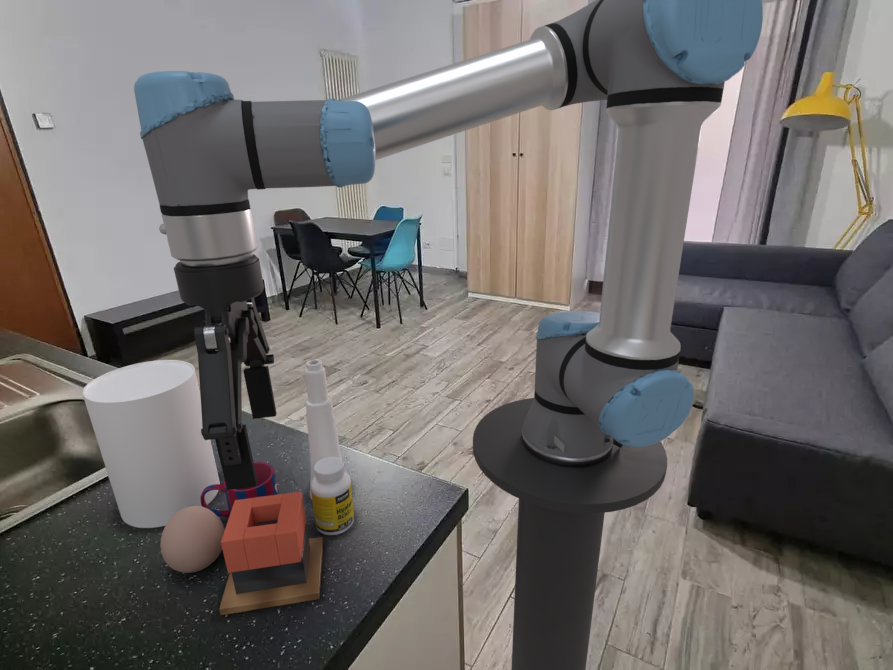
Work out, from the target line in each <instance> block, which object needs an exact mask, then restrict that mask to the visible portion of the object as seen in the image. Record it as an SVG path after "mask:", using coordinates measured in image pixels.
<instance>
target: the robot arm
mask: <svg viewBox="0 0 893 670" xmlns="http://www.w3.org/2000/svg"><path fill="white" fill-rule="evenodd" d="M763 7H764V6H763V0H593V1H592V2H590V3H588V4H587V5H585V6H583V7H582V8H580V9H578V10H576V11H575V12H573V13H571V14H569V15H567V16H565V17H563V18H561V19H559V20H556V21H554V22H551V23H548V24H545V25H544V24H543V25H541V26H538V27H537V28H535V29H534V31H533V32H532V33H531V35H530V38H529V39H528V40H524V41H521V42H518V43H515V44H512V45H509V46H506V47H503V48H499V49H496V50H493V51H490V52H487V53H483V54H480V55H477V56H474V57H470V58H467V59H464V60H461V61H458V62H454V63H451V64H448V65H444V66H442V67H438V68H435V69H432V70H429V71H425V72H422V73H419V74H416V75H413V76H409V77H406V78H403V79H400V80H397V81H394V82H391V83H387V84H384V85H381V86H378V87H375V88H371V89H368V90H365V91H362V92H358V93H356V94H353V95H349V96H346V97H343V98H340V99H335V98H327V99H311V100H271V101H270V100H268V101H267V100H266V101H265V100H264V101H251V100H243V99H235V96H234V93H232V91H231V88H230V84H229V82H228V80H227V79H226V78H225V77H223V76H221V75H218V74H215V73H212V72H211V73H209V72H204V71H203V72H201V71H198V72H195V71H185V70H165V71H164V70H162V71H152V72H147V73H144V74H142V75H140V76H139V77H138V78H137V79H136V81H135V82H134V84H133V92H134V98H135V104H136V109H137V114H138V115H137V116H138V120H139V125H140V132H139V136H140V139H141V140H142V143H143V147H144V150H145V153H146V158H147V161H148V165H149V168H150V174H151V176H152V181H153V185H154V188H155V192H156V195H157V200H158V204H159V210H160V213H161V218H162V219H161V220H162V222H163V223H162V224H160V225H159V227H158V230H159V232H160V233H161V234H162V235H166V238H167V239H166V240H167V243H168V247H169V251H170V256H171V258H174V260H177V261H178V262H176V264H175V266H174V267H173V272H174V275H175V280H176V284H177V289H178V293H179V297H180V299H181V301H182V302H183V303H184V304H186V305H188V306H192V307H195V306H197V307H200V308H201V309H203V310H204V318H205V319H204V320H203V322H202V326H196V327H194V328H193V337H194V340H195V341H194V342H195V346H196V352H197V362H198V378H199V380H198V381H199V390H200V396H201V412H202V428H203V429H201V434H202V436H203V438H204V440H214V441H215V447H216V450H217V453H218V458H219V463H220V466H221V471H222V475H223V481H224V480H225V484H226V488H227V490H232V489H239V488H246V487H253V486H256V485H257V476H256V472H255V467H254V462H255V461H254V457H253V453H252V448H251V443H250V437H249V434H248V429H247V428H248V427H247V424H243V420H242V419H243V418H242V417H243V416H242V415H243V413H242V405H243V404H242V403H243V402H242V401H243V399H242V398H243V395H242V393H243V392H242V389H243V388H242V372H243V377H244V380H245V387H246V391H247V397H248V400H249V406H250V411H251V416H252V420H256V419H265V418H275V417H277V413H278V412H277V408H276V401H275V395H274V390H273V385H272V379H271V374H270V369H269V365H271V364H273V365H274V364H275V356H274V353H271V354H269V353H270V346H269V342H268V339H267V337H266V334H265V331H264V327H263V324H262V321H261V318H260V315H259V312H258V309H257V306H256V301H255V298H256V297H259V296H260V295H261V294H262V293H263V291H264V289H265V283H264V278H263V274H262V267H261V261H260V258H259V257H258V256H257V255H256V254H254V252H255V251H257V249H258V247H259V246H258V240H257V235H256V234H257V233H256V230H255V229H256V228H255V224H254V218H253V217H254V216H253V212H252V208H251V203H250V200H249V190H258V191H259V190H266V189H294V188H320V187H321V188H322V187H337V188H344V187H347V186H353V185H363V184H367V183H369V182H371V180H372V179H373V177H374V175H375V170H376V161H378V160H380V159H385V158H386V157H389V156H393V155H395V154H399V153H402V152H404V151H408V150H411V149H413V148H417V147H420V146H423V145H426V144H429V143H432V142H435V141H438V140H441V139H444V138H447V137H450V136H453V135H456V134H460V133H462V132H466V131H469V130H471V129H474V128H478V127H481V126H483V125H487V124H490V123H493V122H495V121H499V120H502V119H505V118H507V117H511V116H514V115H517V114H520V113H523V112H527V111H529V110H532V109H536V108H539V107H541V106H542V107H543V108H544V109H546V110H548V111H556V110H558V109H561V108H565V107H567V106H568V107H569V106H571V105H576V104H581V103H582V104H583V103H588V102H597V101H599V102H600V101H606V109H605V113H606V114H607V115H608V116H609V117H610V119H611V120H612V122H614V124H616V126H617V139H616V150H615V161H614V170H613V179H612V181H613V182H612V189H611V200H610V209H609V221H608V230H607V240H606V248H605V249H606V250H605V251H606V252H605V261H604V268H603V269H604V270H603V281H602V290H601V291H602V292H601V300H600V311H599V312H597V311H587V310H585V311H584V310H568V311H559V312H554V313H549V314H547V315H545V316H544V317H542V318H540V321H539V322H538V327H537V332H536V337H535V340H536V350H535V351H536V352H535V370H534V371H535V372H534V373H535V375H534V395H533V398H534V400H533V402H532V405H531V407H530V409H529V412H528V414H527V416H526V419H525V421H524V423H523V426H522V443H523V445H524V447H525V448H526V449H527V450H528V451H529V452H530V453H531V454H532V455H534V456H535V457H537V458H538V459H540V460H543V461H545V462H547V463H550V464H554V465H558V466H563V467H588V466H593V465H596V464H599V463H601V462H603V461H604V460H606V459H607V458H608V457H609V456H610V454H611V452H612V447H613V444H614V445H616V446H618V447H620V448H621V447H622V446H623V445H625V446H629V447H645V446H649V445H653V444H655V443H658V442H661V441H664V440H665V439H667V438H668V437H670V436H671V435H672V434H673V433H674V432H675V431H677V430H678V429H679V428H680V427H681V426H682V425H683V423H684V422H685V421H686V419H687V418H688V416H689V414H690V412H691V410H692V408H693V405H694V400H695V390H694V387H693V384H692V383H691V382H690V381H689V379H688V377H687V376H686V375H685V373H681V371H680V370H678V368H679V363H680V362H679V360H680V354H681V349H682V348H681V347H682V345H681V342H680V340H679V339H678V338H677V337H676V336H675V335H674V334H673V333H672V332H671V327H672V322H673V321H672V320H673V315H674V307H675V303H676V302H675V301H676V294H677V288H678V282H679V276H680V275H679V274H680V270H681V263H682V256H683V251H684V243H685V237H686V230H687V223H688V217H689V211H690V204H691V199H692V196H691V195H692V193H693V192H692V191H693V185H694V178H695V173H696V172H695V171H696V166H697V159H698V154H699V153H698V151H699V147H700V146H699V145H700V139H701V134H702V126H703V125H704V123H705V122H706V121H707V120H708V119H710V117H711V116H713V114H715V113H716V112H717V111H718V110H719V109H720V108H721V106H722V100H723V94H724V90H725V82H727V81H729V80H730V79H732V78H733V77H734V76H735V75H737V74H738V73H739V72H740V71H742V70H743V68H744V67H745V65H746V62H747V61H749V60H750V59H751V58H752V56H753V55H754V53H755V51H756V48H757V46H758V43H759V41H760V37H761V33H762V28H763V22H764V21H763V20H764V12H763V11H764V10H763V9H764V8H763ZM242 364H244V365H245V368H244V369H243V371H242ZM265 365H266V366H265Z"/></svg>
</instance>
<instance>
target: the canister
mask: <svg viewBox="0 0 893 670" xmlns="http://www.w3.org/2000/svg"><path fill="white" fill-rule="evenodd" d="M198 381H199V380H198V377H197V371H196V368H195V366H194V365H193V364H192V363H190V362H188V361H185V360H179V359H158V360H149V361H144V362H143V361H142V362H138V363H134V364H130V365H126V366H122V367H119V368H116V369H112V370H110V371H108V372H106V373H103V374H101V375H99V376H98V377H96V378H93V379H92V380H91V381H89V382H88V383H87V384H86V385H85V386H84V388H83V389H82V393H81V394H82V396H83V401H84V404H85V406H86V407H85V408H86V410H87V413H88V416H89V420H90V422H91V426H92V429H93V432H94V435H95V438H96V441H97V445H98V447H99V451H100V454H101V458H102V460H103V463H104V464H103V465H104V467H105V470H106V472H107V476H108V480H109V483H110V486H111V489H112V492H113V495H114V499H115V501H116V505H117V507H118V512H119V514H120V517H121V520H122V521H123V522H124V523H125V524H126V525H128V526H130V527H134V528H139V529H154V528H161V527H165V526H166V524H167V523H168V521H169V519H170V518H171V517H172V516H173V515H174V514H176V513H177V512H178V511H179V510H182V509H184V508H186V507H190V506H201V500H200V497H201V493H202V491H203V490H204V489H205V488H206V487H207V486H210V485H215V484H221V483H220V478H219V473H218V468H217V464H216V459H215V454H214V450H213V446H212V442H211V440H204V438H203V436H202V434H201V429H203V428H202V412H201V396H200V385H199V382H198ZM219 491H220V490H211V491H209V492H207V493H206V494H205V497H204V499H205V502H206V504H207V505H208V506H209V504H210V503H211V502H212V501H213V500H214V499H215V498H216V497H217V495H218V493H219ZM201 507H202V506H201Z"/></svg>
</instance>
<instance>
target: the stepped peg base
mask: <svg viewBox="0 0 893 670" xmlns="http://www.w3.org/2000/svg"><path fill="white" fill-rule="evenodd" d="M277 522H278V520H271V521H264V522H258V524H257V526H261V525H269V524H276V523H277ZM307 524H308V523H306V524H305V533H304V541H303V549H302V558H301V562H297V563H290V564H284V565H281V564H280V565H277V566H271V567H264V568H258V569H251V570H250V569H249V570H244V571H238V572H231V573H228V576H227V580H226V584H225V586H224V587H225V588H224V591H223V594H222V598H221V600H220V605H219V608H218V611H219V614H220V616H226V615H231V614H238V613H245V612H251V611H256V610H261V609H262V610H263V609H267V608H268V609H269V608H274V607H280V606H286V605H292V604H297V603H304V602H309V601H315V600H316V601H317V600H320V598H321V597H320V596H321V582H322V570H323V569H322V568H323V556H324V555H323V553H324V537H323V536H319V537H313V538H312V537H311V538H309V531H308V525H307Z"/></svg>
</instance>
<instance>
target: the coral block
mask: <svg viewBox="0 0 893 670" xmlns="http://www.w3.org/2000/svg"><path fill="white" fill-rule="evenodd" d="M271 520H278V522H277V523H276V524H269V525H261V526H257V524H258V522H264V521H271ZM305 524H307V517H306V511H305V505H304V497H303V491H296V492H287V493H278V495H271V496H263V497H255V498H249V499H241V500H235V501H234V504H233V507H232V510H231V513H230V516H229V517H228V519H227V523H226V526H225V527H224V530H225V531H224V534H223V537H222V540H221V545H222V553H223V557H224V563H225V566H226V570H227V573H228V574H229V573H231V572H238V571H244V570H249V569H250V570H251V569H258V568H264V567H271V566H277V565H280V564H281V565H284V564H290V563H297V562H301V558H302V549H303V541H304V533H305Z"/></svg>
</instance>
